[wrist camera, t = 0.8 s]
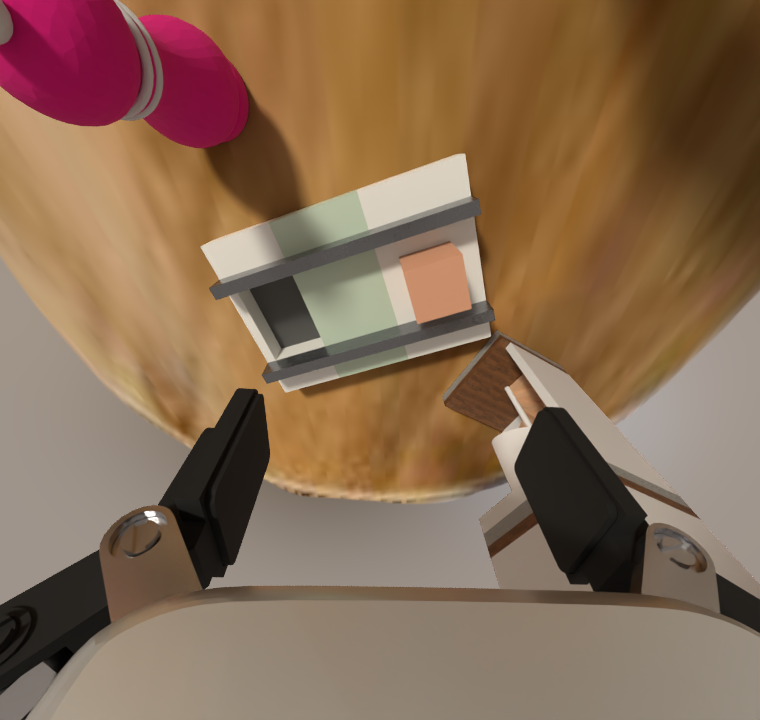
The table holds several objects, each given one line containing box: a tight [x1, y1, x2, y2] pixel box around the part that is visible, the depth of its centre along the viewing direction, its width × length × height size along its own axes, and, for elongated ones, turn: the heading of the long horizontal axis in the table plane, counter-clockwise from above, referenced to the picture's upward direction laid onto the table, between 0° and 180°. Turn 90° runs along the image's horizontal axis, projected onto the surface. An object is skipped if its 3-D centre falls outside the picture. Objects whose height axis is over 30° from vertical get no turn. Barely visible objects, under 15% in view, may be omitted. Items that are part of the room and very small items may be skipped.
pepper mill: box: [0, 0, 249, 148], centre depth 19 cm, size 7×7×20 cm
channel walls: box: [209, 196, 495, 384], centre depth 32 cm, size 25×11×2 cm, turn 107°
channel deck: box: [201, 154, 491, 393], centre depth 35 cm, size 25×18×3 cm
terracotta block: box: [399, 241, 472, 324], centre depth 30 cm, size 5×5×5 cm
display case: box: [442, 330, 760, 599], centre depth 28 cm, size 11×11×35 cm
